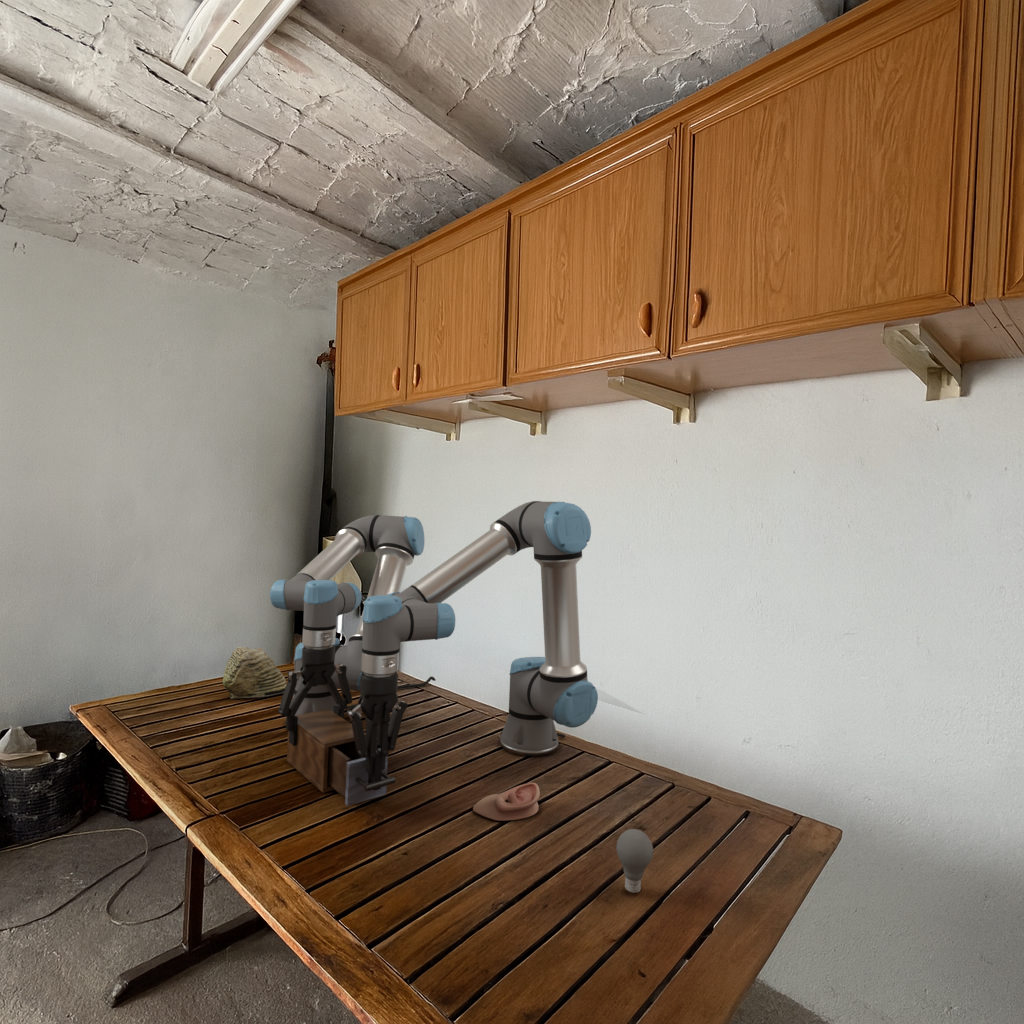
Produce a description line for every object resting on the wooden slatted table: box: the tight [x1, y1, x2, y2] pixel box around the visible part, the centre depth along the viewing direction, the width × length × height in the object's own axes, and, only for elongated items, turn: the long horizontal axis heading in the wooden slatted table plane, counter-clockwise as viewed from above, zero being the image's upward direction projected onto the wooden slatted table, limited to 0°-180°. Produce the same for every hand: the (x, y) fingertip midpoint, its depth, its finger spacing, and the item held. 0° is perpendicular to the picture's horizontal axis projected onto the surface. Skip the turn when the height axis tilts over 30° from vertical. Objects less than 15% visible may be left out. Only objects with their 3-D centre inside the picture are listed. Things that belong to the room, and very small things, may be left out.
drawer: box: [327, 741, 396, 807], centre depth 136 cm, size 24×9×9 cm, turn 41°
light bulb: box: [615, 828, 654, 894], centre depth 106 cm, size 6×6×10 cm
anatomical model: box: [472, 782, 541, 822], centre depth 132 cm, size 13×4×12 cm
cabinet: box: [286, 709, 366, 793], centre depth 146 cm, size 20×10×11 cm, turn 41°
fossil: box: [222, 646, 287, 699], centre depth 198 cm, size 9×18×15 cm, turn 132°
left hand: (315, 738), depth 151 cm, fingers closed on cabinet, 10 cm apart
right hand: (374, 786), depth 129 cm, fingers closed
